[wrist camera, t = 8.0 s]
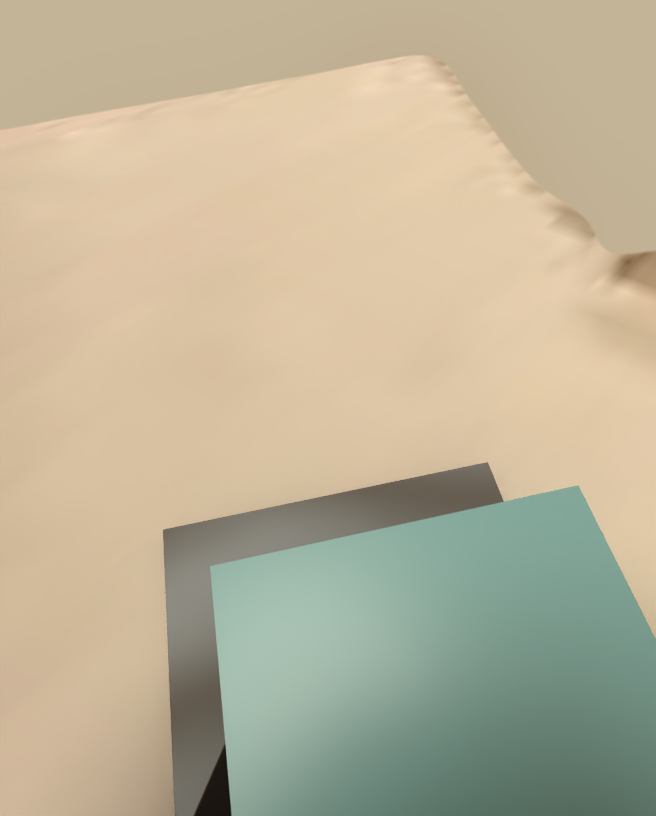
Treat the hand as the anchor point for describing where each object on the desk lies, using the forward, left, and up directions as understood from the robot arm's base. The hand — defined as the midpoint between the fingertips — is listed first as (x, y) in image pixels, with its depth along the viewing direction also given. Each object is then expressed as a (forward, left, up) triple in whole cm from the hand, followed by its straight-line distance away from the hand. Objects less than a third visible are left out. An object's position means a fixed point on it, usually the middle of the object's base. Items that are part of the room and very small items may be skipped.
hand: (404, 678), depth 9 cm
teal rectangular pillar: (-1, 0, -7) cm, 7 cm away
